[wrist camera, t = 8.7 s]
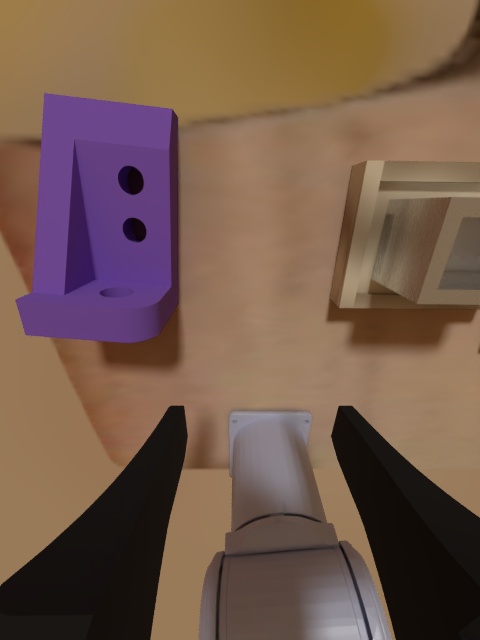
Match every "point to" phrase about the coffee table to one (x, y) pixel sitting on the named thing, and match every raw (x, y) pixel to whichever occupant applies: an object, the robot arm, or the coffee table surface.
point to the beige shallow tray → (368, 218)
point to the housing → (431, 250)
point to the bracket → (104, 222)
